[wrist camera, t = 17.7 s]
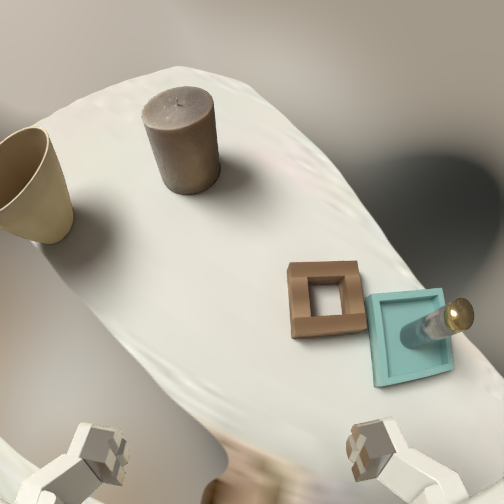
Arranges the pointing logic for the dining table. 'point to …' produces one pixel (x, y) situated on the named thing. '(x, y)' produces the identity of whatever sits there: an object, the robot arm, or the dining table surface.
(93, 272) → the dining table surface
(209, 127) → the pillar candle
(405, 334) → the metal peg
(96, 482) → the robot arm
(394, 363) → the teal tray
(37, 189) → the plant pot
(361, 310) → the walnut collar
